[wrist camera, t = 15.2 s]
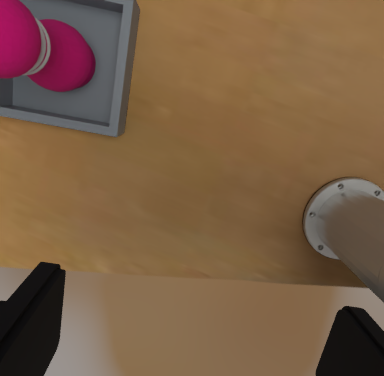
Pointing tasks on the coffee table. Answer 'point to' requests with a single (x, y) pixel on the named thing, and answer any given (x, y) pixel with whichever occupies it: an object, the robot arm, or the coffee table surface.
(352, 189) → the robot arm
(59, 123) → the bin
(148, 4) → the coffee table surface
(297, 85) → the coffee table surface
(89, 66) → the pepper mill
